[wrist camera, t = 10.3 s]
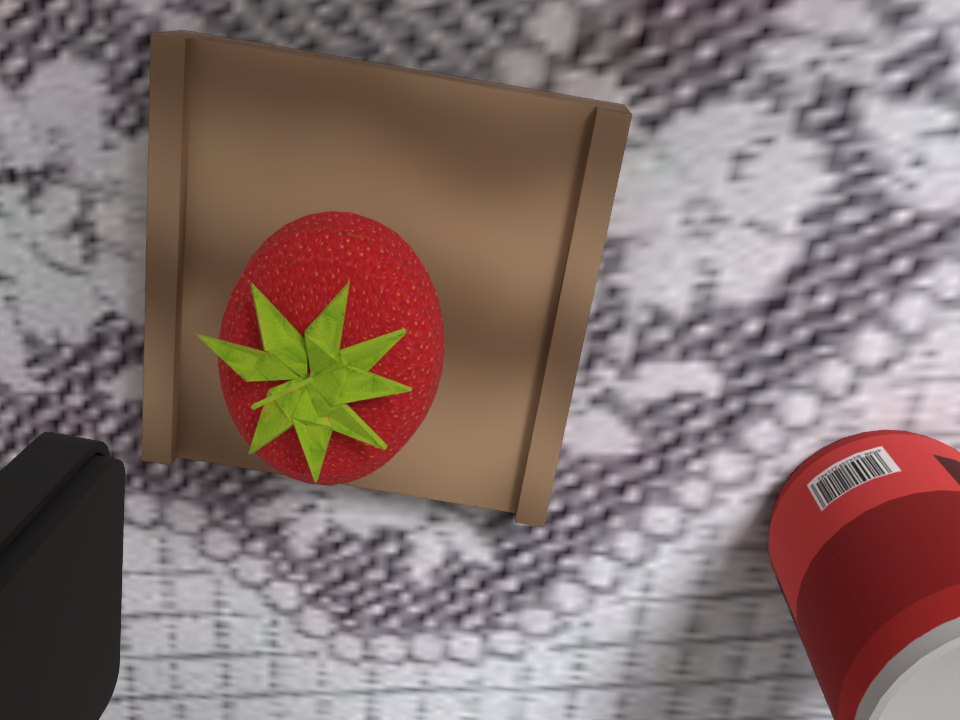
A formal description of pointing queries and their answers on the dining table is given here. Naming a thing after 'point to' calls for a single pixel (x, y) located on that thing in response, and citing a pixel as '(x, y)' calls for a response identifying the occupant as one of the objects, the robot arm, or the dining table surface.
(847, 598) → the canned food
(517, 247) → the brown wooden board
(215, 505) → the dining table surface
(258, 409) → the strawberry
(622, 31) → the dining table surface
